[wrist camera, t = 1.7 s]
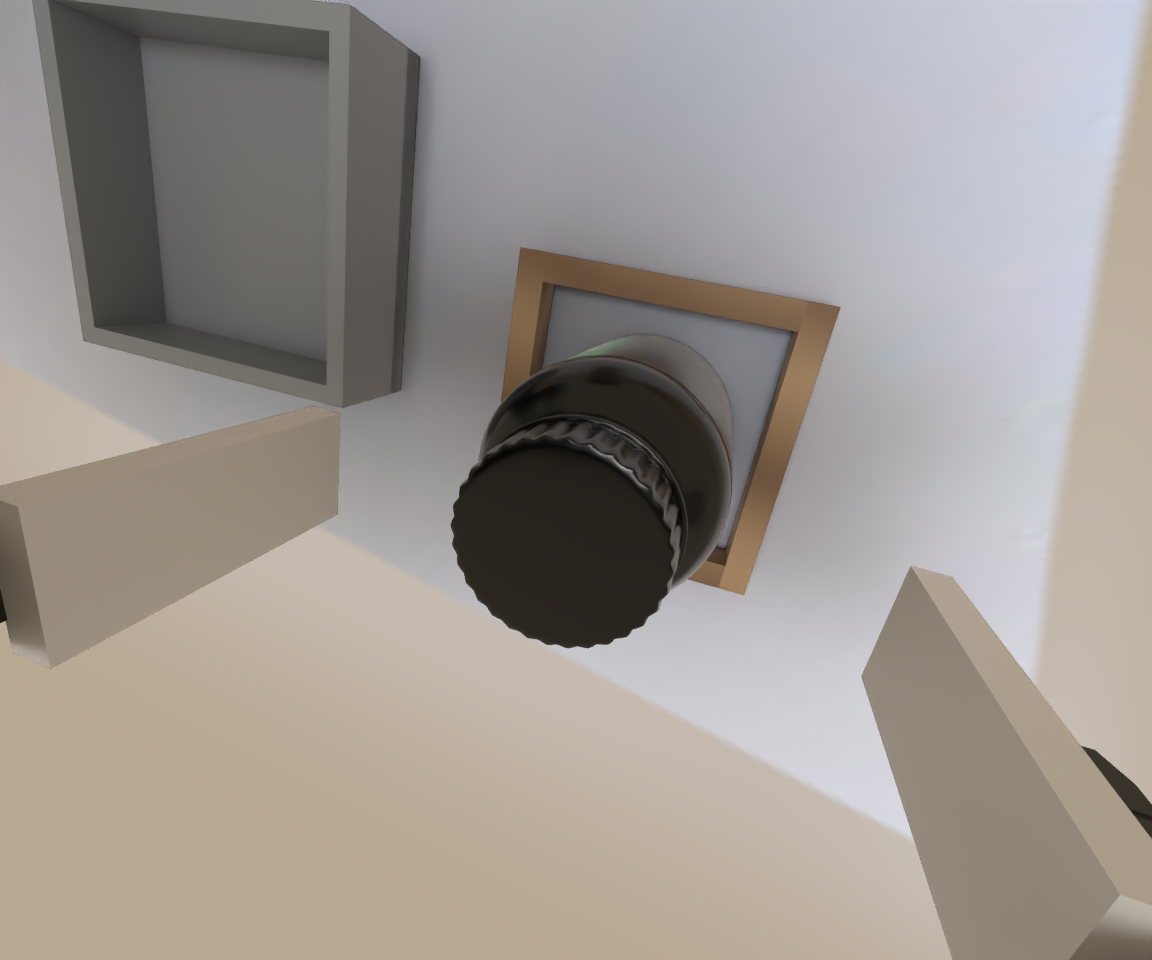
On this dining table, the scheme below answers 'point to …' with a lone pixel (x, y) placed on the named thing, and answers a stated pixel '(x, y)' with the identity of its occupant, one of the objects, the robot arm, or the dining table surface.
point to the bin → (237, 185)
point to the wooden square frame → (750, 306)
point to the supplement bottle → (597, 491)
